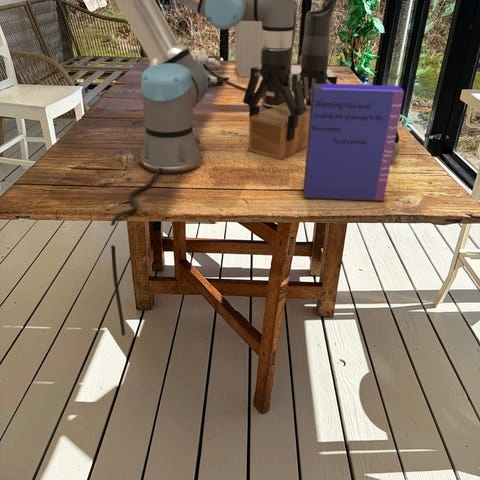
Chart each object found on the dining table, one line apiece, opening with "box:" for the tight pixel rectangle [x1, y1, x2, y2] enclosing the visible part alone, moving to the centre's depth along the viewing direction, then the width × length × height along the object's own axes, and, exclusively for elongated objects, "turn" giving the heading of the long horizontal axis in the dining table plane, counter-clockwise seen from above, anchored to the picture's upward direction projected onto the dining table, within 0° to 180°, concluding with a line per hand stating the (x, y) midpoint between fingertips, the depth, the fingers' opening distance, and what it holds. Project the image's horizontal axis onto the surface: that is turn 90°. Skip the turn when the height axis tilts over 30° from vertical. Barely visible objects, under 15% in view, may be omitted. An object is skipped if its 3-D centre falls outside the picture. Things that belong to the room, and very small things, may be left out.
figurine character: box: [392, 131, 400, 157], centre depth 128 cm, size 7×8×15 cm
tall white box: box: [234, 21, 264, 78], centre depth 210 cm, size 19×15×28 cm
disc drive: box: [290, 65, 338, 91], centre depth 199 cm, size 18×22×5 cm
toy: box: [190, 51, 221, 68], centre depth 223 cm, size 24×25×7 cm
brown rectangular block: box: [248, 102, 311, 160], centre depth 133 cm, size 19×11×10 cm, turn 144°
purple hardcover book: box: [302, 83, 405, 202], centre depth 102 cm, size 17×5×24 cm, turn 86°
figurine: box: [207, 74, 230, 86], centre depth 193 cm, size 24×8×30 cm
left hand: (272, 135), depth 129 cm, fingers closed on brown rectangular block, 11 cm apart
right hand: (310, 113), depth 142 cm, fingers closed
